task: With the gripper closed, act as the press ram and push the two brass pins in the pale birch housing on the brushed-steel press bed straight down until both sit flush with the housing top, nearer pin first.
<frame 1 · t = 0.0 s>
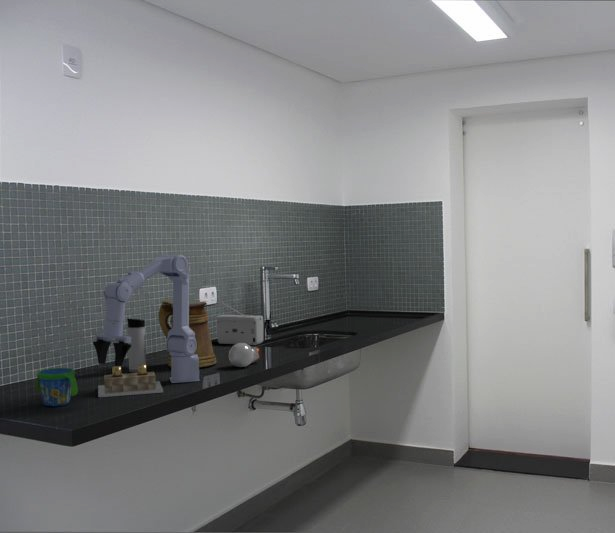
hand: (109, 365, 223), 11 cm above the worktop, tool pointing down, fingers open, 7 cm apart
tankard: (186, 365, 280), on the worktop
pin near: (142, 370, 236), point 6 cm above the worktop, slide at 3.0 cm
press bed: (130, 390, 235), on the worktop
stereo radio cassette player: (240, 344, 332), on the worktop
housing: (129, 381, 235), on the press bed, point 3 cm above the worktop
pin far: (116, 372, 234), point 6 cm above the worktop, slide at 3.0 cm
travel mug: (137, 371, 269), on the worktop
potion bottle: (244, 366, 276), on the worktop
snack cup: (57, 404, 218), on the worktop
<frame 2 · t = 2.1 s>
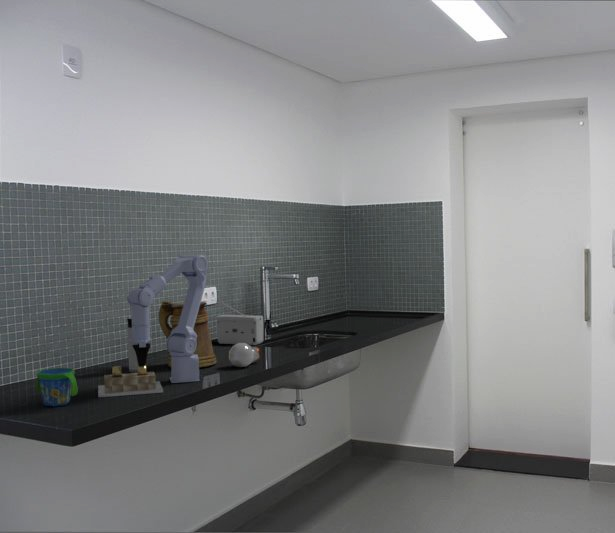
hand: (141, 366, 236), 8 cm above the worktop, tool pointing down, fingers closed, pressing on pin near
pin near: (142, 371, 236), point 6 cm above the worktop, slide at 2.8 cm, touching gripper
everything else where it was.
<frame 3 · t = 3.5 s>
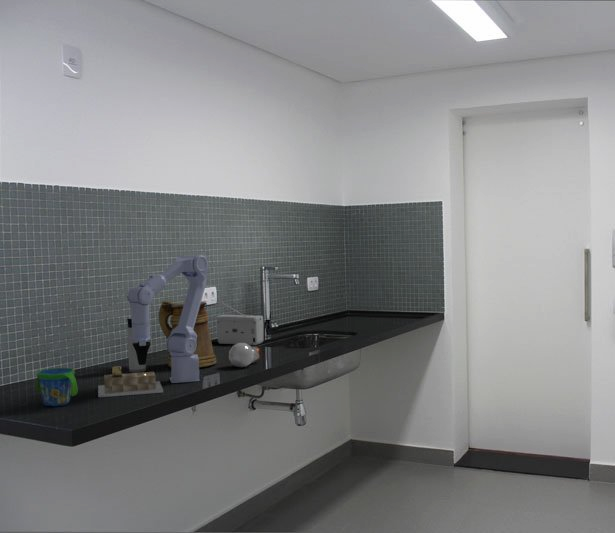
hand: (142, 364, 236), 8 cm above the worktop, tool pointing down, fingers closed
pin near: (142, 379, 236), point 3 cm above the worktop, slide at 0.1 cm
everything else where it was.
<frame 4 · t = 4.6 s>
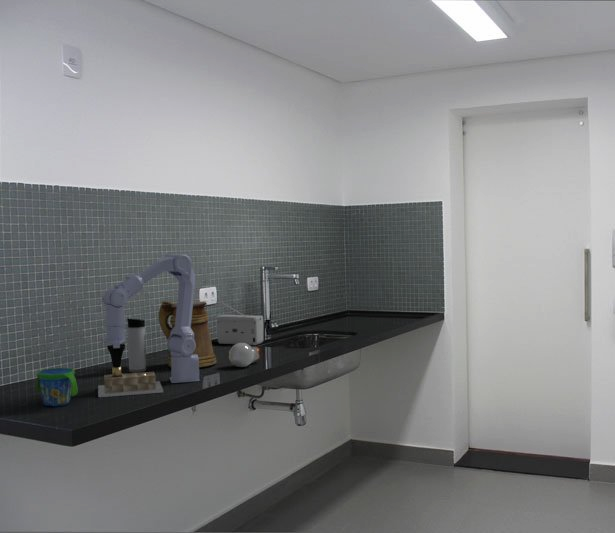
hand: (116, 367, 234), 8 cm above the worktop, tool pointing down, fingers closed, pressing on pin far
pin far: (116, 372, 234), point 6 cm above the worktop, slide at 3.0 cm, touching gripper
everything else where it was.
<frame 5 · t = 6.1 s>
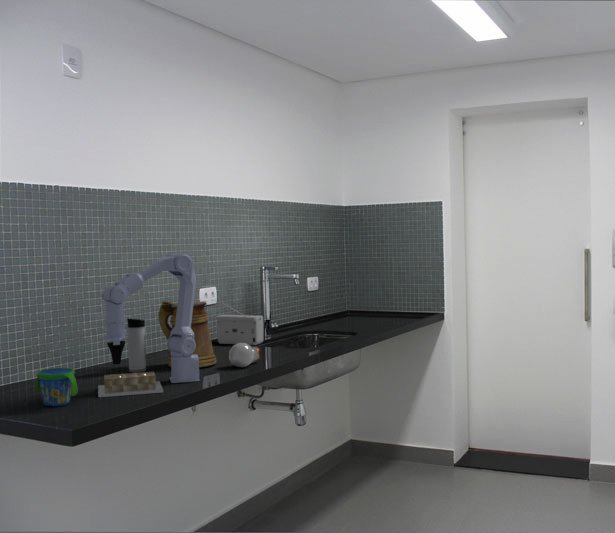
hand: (116, 364, 234), 9 cm above the worktop, tool pointing down, fingers closed
pin far: (117, 381, 234), point 3 cm above the worktop, slide at 0.1 cm
everything else where it was.
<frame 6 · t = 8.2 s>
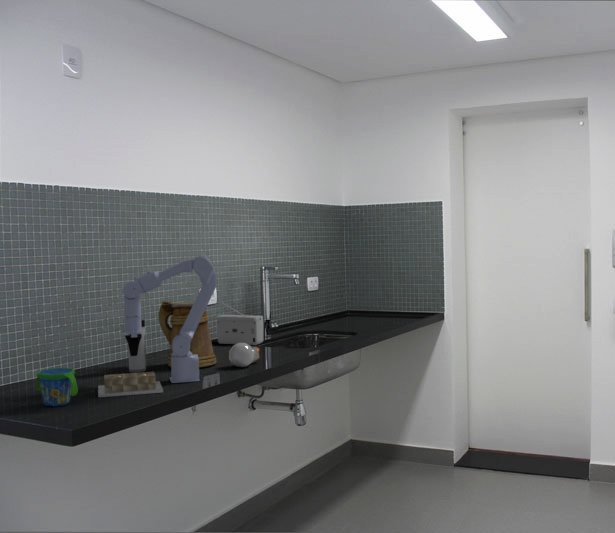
hand: (133, 355, 247), 9 cm above the worktop, tool pointing down, fingers closed
nothing on the worktop moved.
at the end: pin near slide at 0.1 cm; pin far slide at 0.1 cm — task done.
